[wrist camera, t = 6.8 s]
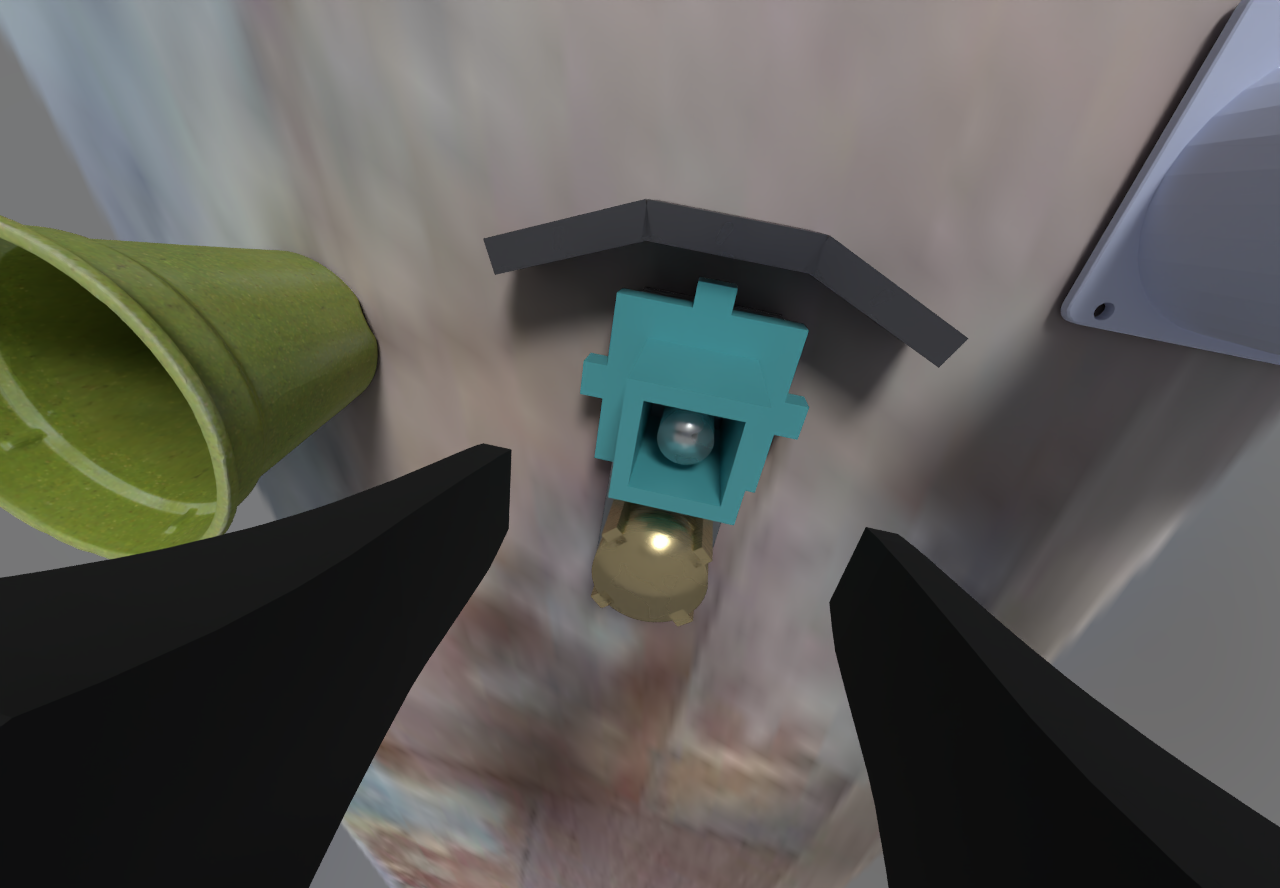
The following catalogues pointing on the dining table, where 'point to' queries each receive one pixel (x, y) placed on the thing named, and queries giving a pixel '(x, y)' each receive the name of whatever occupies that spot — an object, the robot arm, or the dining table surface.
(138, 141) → the dining table surface
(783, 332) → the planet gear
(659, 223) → the carrier
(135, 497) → the plant pot
